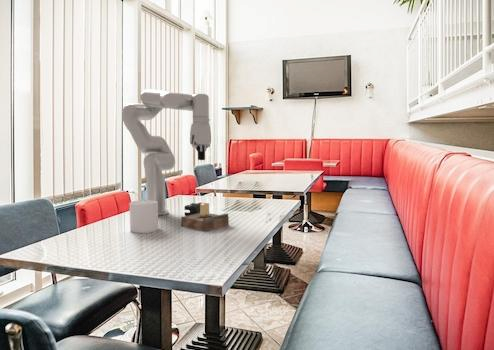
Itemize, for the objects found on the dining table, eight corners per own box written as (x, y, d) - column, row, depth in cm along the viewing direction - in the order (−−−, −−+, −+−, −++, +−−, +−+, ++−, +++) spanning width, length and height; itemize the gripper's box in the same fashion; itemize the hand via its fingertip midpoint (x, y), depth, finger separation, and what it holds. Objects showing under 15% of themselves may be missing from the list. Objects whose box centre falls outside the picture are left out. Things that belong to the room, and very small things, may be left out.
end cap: (197, 219, 186) (196, 206, 185) (184, 218, 188) (183, 205, 187) (206, 215, 195) (206, 202, 194) (193, 214, 197) (193, 201, 197)
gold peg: (198, 225, 173) (198, 203, 172) (204, 224, 176) (204, 202, 175) (204, 227, 170) (204, 204, 169) (211, 225, 173) (210, 203, 172)
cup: (163, 227, 169) (162, 200, 168) (148, 234, 158) (147, 205, 157) (140, 225, 173) (140, 199, 172) (124, 231, 162) (123, 203, 161)
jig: (181, 225, 173) (181, 214, 172) (203, 220, 183) (203, 209, 183) (206, 231, 163) (206, 219, 162) (228, 225, 173) (228, 214, 173)
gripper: (206, 121, 187) (207, 158, 189) (183, 120, 176) (184, 160, 178) (217, 121, 183) (218, 159, 184) (194, 120, 171) (195, 161, 173)
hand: (201, 159), depth 181 cm, fingers closed
